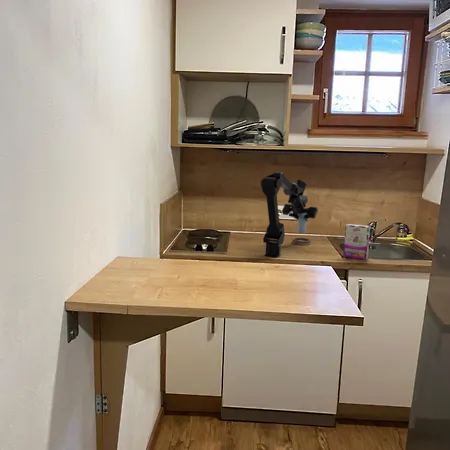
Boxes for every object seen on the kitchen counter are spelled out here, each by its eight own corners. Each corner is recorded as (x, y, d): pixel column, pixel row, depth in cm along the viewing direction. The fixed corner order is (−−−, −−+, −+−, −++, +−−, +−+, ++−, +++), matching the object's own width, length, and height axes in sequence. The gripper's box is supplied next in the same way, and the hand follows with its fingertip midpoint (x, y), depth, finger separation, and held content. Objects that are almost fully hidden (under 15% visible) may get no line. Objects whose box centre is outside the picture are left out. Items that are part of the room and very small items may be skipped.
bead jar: (297, 233, 255) (298, 210, 253) (297, 231, 259) (298, 209, 257) (305, 233, 254) (307, 210, 252) (305, 232, 259) (307, 209, 257)
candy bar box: (368, 258, 230) (371, 225, 227) (365, 260, 225) (369, 227, 222) (345, 255, 235) (347, 223, 232) (342, 257, 231) (345, 224, 228)
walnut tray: (290, 243, 257) (290, 240, 256) (295, 240, 266) (295, 236, 265) (308, 245, 253) (308, 242, 252) (312, 242, 262) (312, 239, 261)
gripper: (318, 192, 245) (324, 211, 256) (285, 189, 254) (292, 207, 265) (311, 208, 239) (317, 227, 251) (278, 204, 249) (285, 222, 260)
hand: (303, 220), depth 257 cm, fingers closed on bead jar, 5 cm apart
